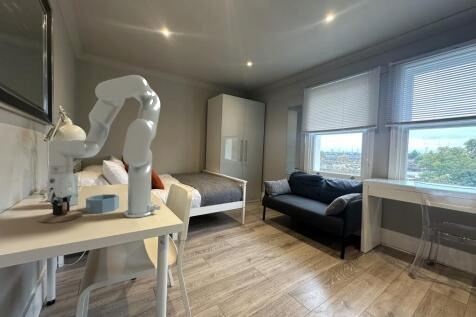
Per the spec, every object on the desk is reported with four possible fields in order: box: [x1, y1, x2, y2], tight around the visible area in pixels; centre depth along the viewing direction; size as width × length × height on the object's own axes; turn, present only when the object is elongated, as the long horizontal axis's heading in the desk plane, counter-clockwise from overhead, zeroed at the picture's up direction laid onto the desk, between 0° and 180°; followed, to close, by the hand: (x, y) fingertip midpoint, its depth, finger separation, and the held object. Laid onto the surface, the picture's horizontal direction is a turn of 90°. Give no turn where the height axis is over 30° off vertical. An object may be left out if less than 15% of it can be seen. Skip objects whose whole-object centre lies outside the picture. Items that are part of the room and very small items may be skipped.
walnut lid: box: [38, 202, 83, 224], centre depth 83 cm, size 14×14×6 cm
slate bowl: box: [85, 193, 120, 214], centre depth 96 cm, size 12×12×6 cm
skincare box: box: [51, 173, 79, 208], centre depth 100 cm, size 8×7×16 cm
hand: (61, 212), depth 83 cm, fingers closed on walnut lid, 3 cm apart
